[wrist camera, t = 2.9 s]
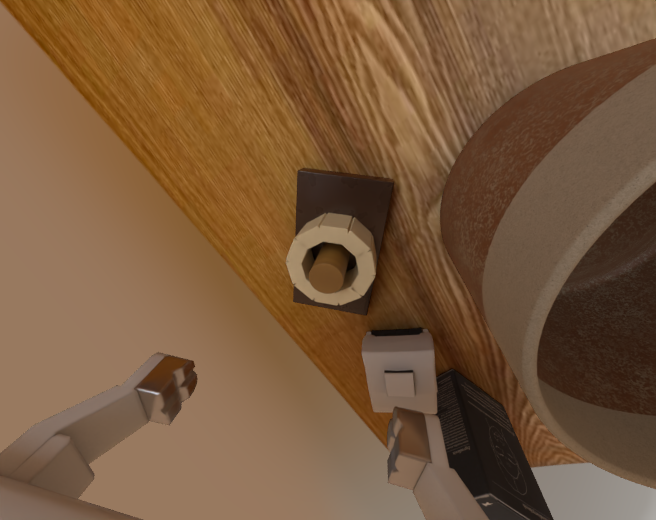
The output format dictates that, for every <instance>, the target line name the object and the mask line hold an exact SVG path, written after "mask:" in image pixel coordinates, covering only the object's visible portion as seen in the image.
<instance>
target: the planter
mask: <svg viewBox="0 0 656 520" xmlns="http://www.w3.org/2000/svg"><path fill="white" fill-rule="evenodd" d="M440 224H441V232H442V237H443V241H444V244H445V247H446V249H447V251H448V254H449V255H450V257H451V259H452V261H453V263H454V265H455V266H456V268H457V270H458V272H459V274H460V276H461V277H462V279H463V281H464V283H465V285H466V287H467V288H468V290H469V292H470V294H471V296H472V298H473V300H474V301H475V303H476V305H477V307H478V309H479V311H480V312H481V314H482V316H483V318H484V320H485V322H486V323H487V325H488V327H489V329H490V331H491V333H492V334H493V336H494V338H495V340H496V342H497V344H498V345H499V347H500V349H501V351H502V353H503V355H504V356H505V358H506V360H507V362H508V364H509V366H510V367H511V369H512V371H513V373H514V375H515V377H516V378H517V380H518V382H519V384H520V386H521V388H522V389H523V391H524V393H525V395H526V397H527V399H528V400H529V402H530V404H531V406H532V408H533V409H534V411H535V413H536V414H537V416H538V417H539V419H540V420H541V422H542V423H543V424H544V425H545V426H546V428H547V429H548V430H549V431H550V432H551V433H552V434H553V435H554V436H555V437H556V438H557V439H558V440H559V441H560V442H561V443H562V444H564V445H565V446H566V447H567V448H569V449H570V450H571V451H573V452H574V453H576V454H577V455H579V456H580V457H582V458H583V459H585V460H587V461H588V462H590V463H592V464H594V465H595V466H597V467H599V468H601V469H603V470H605V471H608V472H610V473H612V474H615V475H617V476H619V477H621V478H624V479H627V480H629V481H632V482H635V483H638V484H641V485H644V486H647V487H650V488H654V489H656V38H655V39H652V40H649V41H646V42H643V43H640V44H637V45H634V46H631V47H628V48H625V49H622V50H619V51H615V52H612V53H609V54H606V55H603V56H600V57H597V58H594V59H591V60H588V61H585V62H582V63H579V64H576V65H573V66H570V67H568V68H565V69H562V70H560V71H558V72H556V73H553V74H551V75H549V76H547V77H545V78H543V79H541V80H540V81H538V82H536V83H534V84H532V85H531V86H529V87H528V88H526V89H524V90H523V91H521V92H520V93H519V94H517V95H516V96H514V97H513V98H511V99H510V100H509V101H508V102H506V103H505V104H504V105H503V106H501V107H500V108H499V109H498V110H497V111H496V112H495V113H493V114H492V115H491V116H490V117H489V118H488V119H487V120H486V121H485V122H484V123H483V124H482V126H481V127H480V128H479V129H478V130H477V131H476V132H475V134H474V135H473V136H472V137H471V139H470V140H469V141H468V142H467V144H466V145H465V147H464V148H463V150H462V151H461V153H460V155H459V156H458V158H457V160H456V162H455V164H454V165H453V168H452V170H451V172H450V174H449V177H448V179H447V182H446V185H445V188H444V192H443V197H442V202H441V210H440Z"/></svg>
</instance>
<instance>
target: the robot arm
mask: <svg viewBox="0 0 656 520" xmlns="http://www.w3.org/2000/svg"><path fill="white" fill-rule="evenodd" d="M194 367H195V365H194V361H192V360H188V359H183V358H179V357H175V356H171V355H168V354H163V353H156V354H154V355H152V356H151V357H150V358H149V359H148V360H147V361H146V362H145V363H144V364H143V365H142V366H141V367H140V368H139V369H138V370H137V371H136V372H135V373H134V374H133V375H132V376H131V377H130V378H129V379H127V381H126V382H124V384H122V385H121V386H118V385H117V386H115V387H113V388H111V389H109V390H106V391H104V392H102V393H100V394H98V395H96V396H94V397H92V398H90V399H88V400H85V401H83V402H81V403H79V404H77V405H75V406H73V407H71V408H69V409H66V410H64V411H62V412H60V413H58V414H56V415H54V416H52V417H50V418H48V419H45V420H43V421H41V422H39V423H37V424H35V425H33V426H32V427H31V428H30V429H29V430H27V431H26V432H25V433H24V434H23V435H21V436H20V437H19V438H18V439H17V440H16V441H14V442H13V443H12V444H11V445H10V446H8V447H7V448H6V449H5V450H4V451H2V452H1V453H0V520H142V519H139V518H136V517H133V516H130V515H126V514H123V513H120V512H117V511H114V510H111V509H108V508H104V507H101V506H98V505H95V504H91V503H88V502H85V501H82V500H79V499H78V498H79V497H80V496H81V494H82V493H83V492H84V491H85V489H86V488H87V487H88V486H89V485H90V483H91V482H92V481H93V480H94V473H93V471H92V469H91V468H90V466H89V465H88V464H90V463H91V462H92V461H94V460H95V459H97V458H98V457H99V456H101V455H102V454H104V453H105V452H107V451H108V450H110V449H111V448H112V447H114V446H115V445H117V444H118V443H120V442H121V441H122V440H124V439H125V438H127V437H128V436H130V435H131V434H133V433H134V432H135V431H137V430H138V429H140V428H141V427H142V426H144V425H145V424H147V423H148V422H149V421H152V422H157V423H161V424H165V425H170V424H171V422H172V421H173V419H174V418H175V417H176V415H177V414H178V413H179V411H180V410H181V403H182V402H183V401H185V400H187V399H188V398H189V397H190V396H191V394H192V393H193V392H194V389H195V387H196V384H197V374H196V373H195V372H194V371H193V368H194ZM387 447H388V449H389V451H390V455H389V458H388V483H390V484H394V485H397V486H400V487H404V488H407V489H411V490H413V493H414V495H415V497H416V499H417V502H418V503H419V506H420V508H421V510H422V512H423V514H424V516H425V518H426V520H489V519H488V517H487V516H486V514H485V513H484V511H483V510H482V509H481V507H480V506H479V504H478V503H477V501H476V500H475V498H474V497H473V496H472V494H471V493H470V491H469V490H468V488H467V487H466V486H465V484H464V483H463V481H462V480H461V478H460V477H459V475H458V474H457V473H456V471H455V470H454V469H452V468H449V463H448V458H447V453H446V449H445V444H444V439H443V434H442V430H441V425H440V420H439V418H438V416H436V415H433V414H428V413H423V412H421V411H416V410H411V409H406V408H401V407H397V406H395V407H394V409H393V418H392V419H390V422H389V425H388V432H387Z"/></svg>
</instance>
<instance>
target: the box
mask: <svg viewBox="0 0 656 520" xmlns="http://www.w3.org/2000/svg"><path fill="white" fill-rule="evenodd" d="M436 382H437V390H438V392H437V413H436V414H433V415H436V416H438V418H439V420H440V425H441V430H442V434H443V439H444V444H445V449H446V453H447V458H448V463H449V468H452V469H454V470H455V471H456V473H457V474H458V475H459V477H460V478H461V480H462V481H463V483H464V484H465V486H466V487H467V488H468V490H469V491H470V493H471V494H472V496H473V497H474V498H475V500H476V501H477V503H478V504H479V506H480V507H481V509H482V510H483V511H484V513H485V514H486V516H487V517H488V519H489V520H553V517H552V515H551V513H550V511H549V509H548V506H547V504H546V502H545V499H544V497H543V495H542V492H541V490H540V488H539V486H538V484H537V481H536V479H535V477H534V475H533V472H532V470H531V468H530V466H529V463H528V461H527V459H526V457H525V454H524V452H523V450H522V448H521V445H520V443H519V441H518V438H517V436H516V434H515V432H514V429H513V427H512V425H511V423H510V420H509V418H508V416H507V413H506V411H505V409H504V407H503V406H502V405H501V404H500V403H498V402H497V401H496V400H494V399H493V398H491V397H490V396H489V395H487V394H486V393H485V392H483V391H482V390H481V389H479V388H478V387H477V386H475V385H474V384H473V383H471V382H470V381H469V380H467V379H466V378H465V377H463V376H462V375H461V374H459V373H458V372H456V371H455V370H454V369H451V370H449V371H448V372H446V373H444V374H442V375H440V376H438V377H436Z"/></svg>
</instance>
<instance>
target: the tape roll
mask: <svg viewBox="0 0 656 520" xmlns="http://www.w3.org/2000/svg"><path fill="white" fill-rule="evenodd" d="M322 242H328V243H335V244H341V245H343V246H344V247H345V248H346V249H347V250H348V251H349V252H351V253H352V254H353V255H354V256H355V257H356V262H357V264H356V266H355V268H353V269H351V270H349V271H346V274H345V278H344V282H343V285H342V287H341V288H340V289H339V290H338V291H337V292H335V293H331V294H324V293H321V292H319V291H317V290H315V289H314V288H313V287H312V285H311V284H310V281H309V272H310V270H311V268H312V266H313V264H314V262H315V260H314V257H313V253H312V249H311V248H312V247H314V246H316V245H318V244H320V243H322ZM376 257H377V256H376V250H375V244H374V237H373V236H372V233H371V232H370V231H369V230H368V229H367V228H366V227H365V226H364V225H363V224H361V223H360V222H359V221H358V220H357V219H356V218H355V217H354V218H353V219H352V216H349V215H342V214H335V213H328V214H326V213H325V214H323V215H321V216H319V217H317V218H315V219H314V220H312V221H310V222H308V223H306V225H305V226H304V227H303V228H302V229H301V231H300V232H299V233H298V234H297V236H296V237H295V238H294V240H293V242H292V245H291V248H290V250H289V253H288V255H287V258H286V260H287V261H286V265H287V268H288V271H289V274H290V277H291V280H292V283H293V284H294V283H295V285H294V286H295V287H297V288H298V289H299V290H300V291H301V292H303V293H304V294H305V295H306V296H308V297H309V298H310V299H311V300H313V299H314V298H315V299H314V301H315V302H320V303H326V304H331V305H338V303H339V304H340V305H343V304H346V303H348V302H351V301H354V300H356V299H359V298H361V297H362V296H364V295H365V293H366V291H367V290H368V288H369V287H370V285H371V283H372V282H373V280H374V279H375V275H376Z"/></svg>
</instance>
